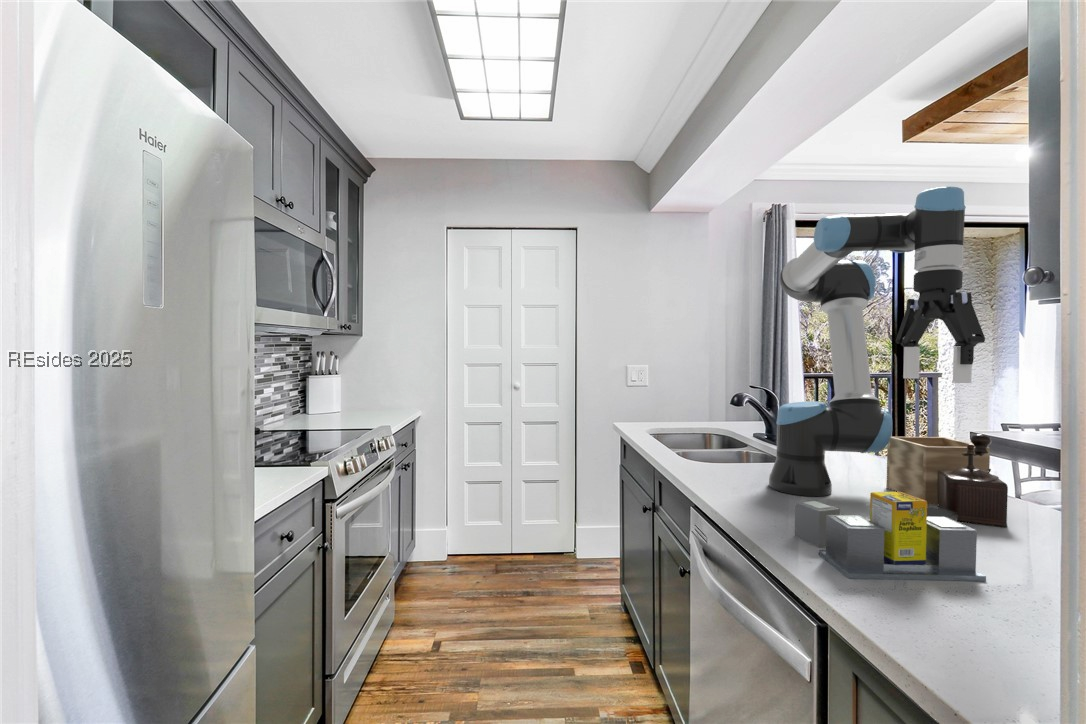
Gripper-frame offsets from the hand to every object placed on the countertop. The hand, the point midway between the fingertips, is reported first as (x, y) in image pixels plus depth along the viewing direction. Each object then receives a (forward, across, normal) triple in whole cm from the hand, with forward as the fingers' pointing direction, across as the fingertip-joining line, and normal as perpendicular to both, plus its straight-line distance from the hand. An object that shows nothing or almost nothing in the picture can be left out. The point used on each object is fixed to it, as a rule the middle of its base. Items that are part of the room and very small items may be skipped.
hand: (934, 380), depth 101 cm
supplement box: (+30, +12, -14) cm, 36 cm away
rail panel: (+32, +12, -14) cm, 37 cm away
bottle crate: (+32, -33, +24) cm, 52 cm away
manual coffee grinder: (+32, -18, +21) cm, 42 cm away
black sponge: (+32, -8, +4) cm, 34 cm away
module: (+32, 0, -22) cm, 39 cm away
